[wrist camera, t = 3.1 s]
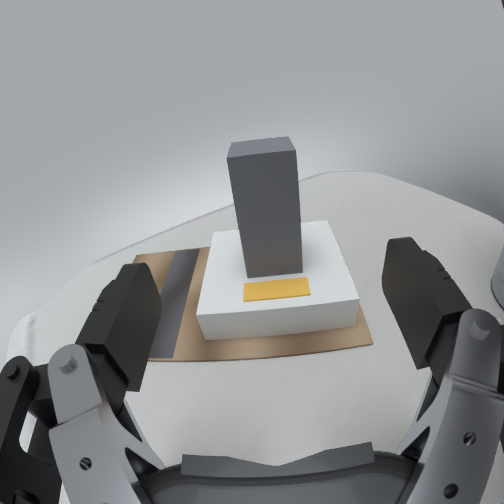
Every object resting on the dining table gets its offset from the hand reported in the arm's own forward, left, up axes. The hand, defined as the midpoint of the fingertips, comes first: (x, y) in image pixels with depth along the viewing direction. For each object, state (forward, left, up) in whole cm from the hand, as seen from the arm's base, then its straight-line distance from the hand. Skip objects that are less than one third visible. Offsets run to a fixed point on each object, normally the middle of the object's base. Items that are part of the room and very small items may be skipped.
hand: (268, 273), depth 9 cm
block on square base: (0, -13, -12) cm, 18 cm away
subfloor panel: (+5, -13, -12) cm, 19 cm away
